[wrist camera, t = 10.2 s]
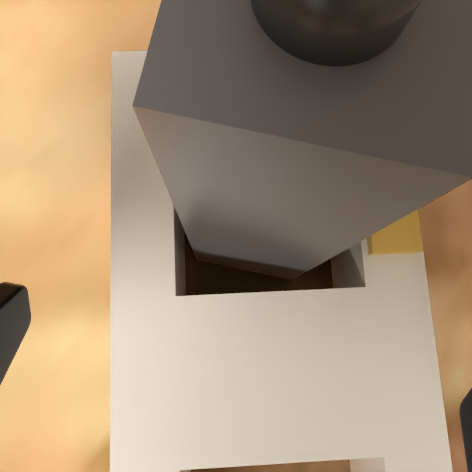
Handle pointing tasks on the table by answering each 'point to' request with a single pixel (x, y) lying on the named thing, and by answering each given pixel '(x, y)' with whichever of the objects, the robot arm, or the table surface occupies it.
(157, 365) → the socket block
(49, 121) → the table surface
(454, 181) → the plug
